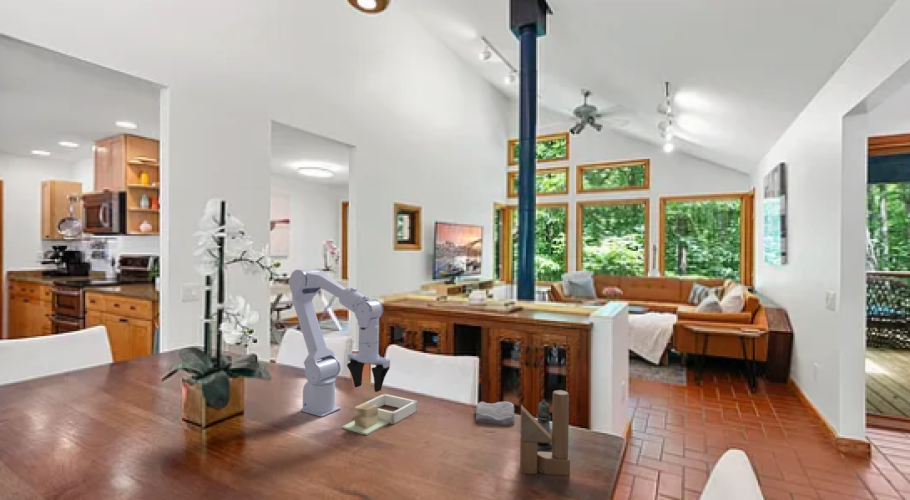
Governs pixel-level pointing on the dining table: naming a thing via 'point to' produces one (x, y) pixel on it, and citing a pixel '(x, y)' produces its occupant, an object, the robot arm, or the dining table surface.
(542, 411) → the salt shaker
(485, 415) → the stone block
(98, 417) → the dining table surface
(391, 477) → the dining table surface
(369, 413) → the wood block
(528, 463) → the wooden block
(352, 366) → the robot arm
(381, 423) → the pad
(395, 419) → the box
